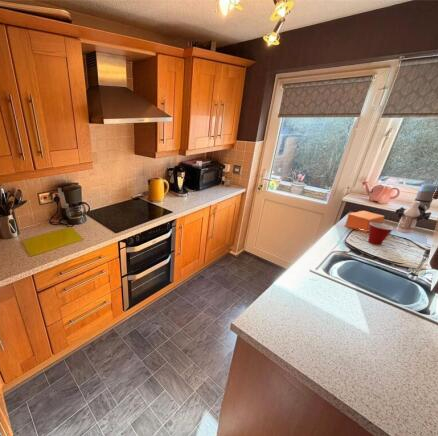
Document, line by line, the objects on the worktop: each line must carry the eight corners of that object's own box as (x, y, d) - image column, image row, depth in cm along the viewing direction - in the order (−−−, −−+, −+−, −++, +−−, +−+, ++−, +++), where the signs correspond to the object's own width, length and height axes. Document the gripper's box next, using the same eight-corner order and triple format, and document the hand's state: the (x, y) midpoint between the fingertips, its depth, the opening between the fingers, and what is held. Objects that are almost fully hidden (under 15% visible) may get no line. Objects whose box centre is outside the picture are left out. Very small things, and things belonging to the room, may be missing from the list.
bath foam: (406, 234, 143) (419, 203, 135) (393, 229, 149) (405, 200, 142) (414, 233, 144) (428, 202, 137) (401, 228, 150) (413, 199, 143)
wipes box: (365, 232, 157) (369, 220, 153) (345, 225, 168) (348, 214, 164) (380, 228, 162) (384, 217, 159) (359, 222, 173) (363, 211, 170)
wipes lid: (369, 220, 153) (369, 219, 153) (348, 214, 164) (348, 213, 164) (384, 217, 159) (385, 216, 159) (363, 211, 170) (363, 210, 170)
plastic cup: (392, 246, 138) (399, 228, 134) (377, 247, 137) (384, 229, 132) (372, 238, 148) (379, 221, 144) (358, 239, 147) (364, 222, 142)
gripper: (437, 219, 145) (430, 228, 133) (393, 211, 161) (384, 218, 149) (443, 208, 143) (436, 216, 131) (398, 200, 158) (388, 207, 146)
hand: (408, 217), depth 140 cm, fingers closed on bath foam, 7 cm apart
